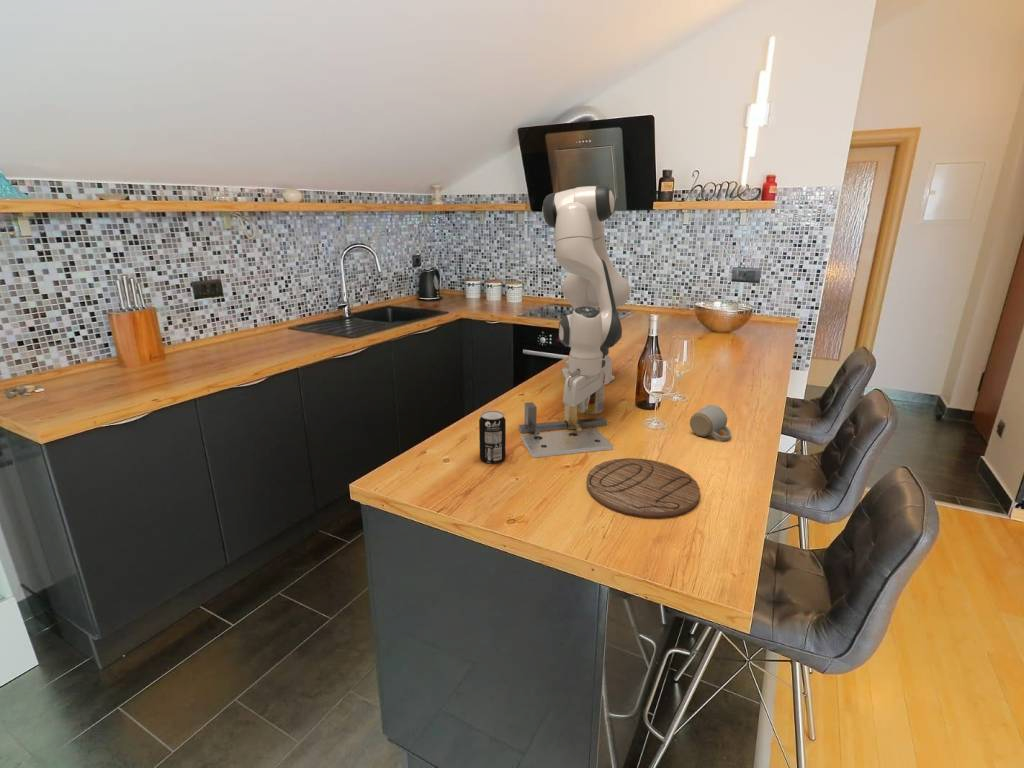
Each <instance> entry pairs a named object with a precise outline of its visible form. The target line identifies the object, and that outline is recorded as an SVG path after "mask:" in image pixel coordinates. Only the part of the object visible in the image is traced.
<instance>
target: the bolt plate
mask: <svg viewBox="0 0 1024 768" xmlns="http://www.w3.org/2000/svg"><path fill="white" fill-rule="evenodd" d="M520 441H522V443H523V445H524V447H525V448H526V449H527V451H528V453H529V454H530V456H531V458H533V459H534V458H542V457H553V456H554V457H555V456H562V455H563V456H564V455H571V454H582V453H591V452H592V453H593V452H601V451H609V450H611V451H612V450H613V448H614V445H613V443H612V442H611V441H609V439H607V438H606V437H605V435H603V433H602V432H601V431H600V430H599V429H598V428H597V427H589V428H584V429H583V428H581V431H578V430H577V429H568V430H557V431H550V432H549V431H547V432H540V435H536V433H530V434H529V433H525V434H521V435H520Z"/></svg>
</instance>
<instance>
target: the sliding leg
mask: <svg viewBox="0 0 1024 768" xmlns="http://www.w3.org/2000/svg"><path fill="white" fill-rule="evenodd" d="M577 420H578V405H576V406H569V405H565V404H564V416H563V421H567V423H568V429H567V430H578V431H581V429H582V428H581V427H580V426H579V425H578V424H577Z"/></svg>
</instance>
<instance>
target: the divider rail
mask: <svg viewBox="0 0 1024 768" xmlns="http://www.w3.org/2000/svg"><path fill="white" fill-rule="evenodd" d="M537 411H538V410H537V405H536V404H535V403H534V401H531V402H524V424H518V430H520V431H519V433H520V434H528V433H527V432H530V433H534V434H536V435H540V433H541V432H549V431H550V432H552V431H563V430H569V429H568V423H567V421H564V420H561V421H558V420H557V421H548V422H537V414H538V413H537ZM577 424H578V425H579V426H580V427H581V429H583V428H595V427H603V426H607V425H608V420H607V419H606V418H605V417H602V416H601V417H593V418H592V417H591V418H581V419H579V418H578V419H577ZM539 431H541V432H539Z"/></svg>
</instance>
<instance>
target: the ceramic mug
mask: <svg viewBox="0 0 1024 768" xmlns="http://www.w3.org/2000/svg"><path fill="white" fill-rule="evenodd" d="M727 422H728V417H727V414H726V412H725V411H724V409H722V408H721V407H720V406H719V405H716V404H709V405H706V406H704V407H703V408H702V409H700V410H698V411H696V412H694V414H692V416H691V417H690V419H689V427H690V429H691V431H692V432H693V433H694V434H695V435H697V436H699V437H709V436H712V437H713V438H715V439H716V440H718V441H721V442H726V441H728V440H730V438H731V437H732V432H731V430H730V428H729V427H728V426H727ZM721 431H724V432H725V434H726V436H723V435H721V434H719V433H718V432H721Z"/></svg>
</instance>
